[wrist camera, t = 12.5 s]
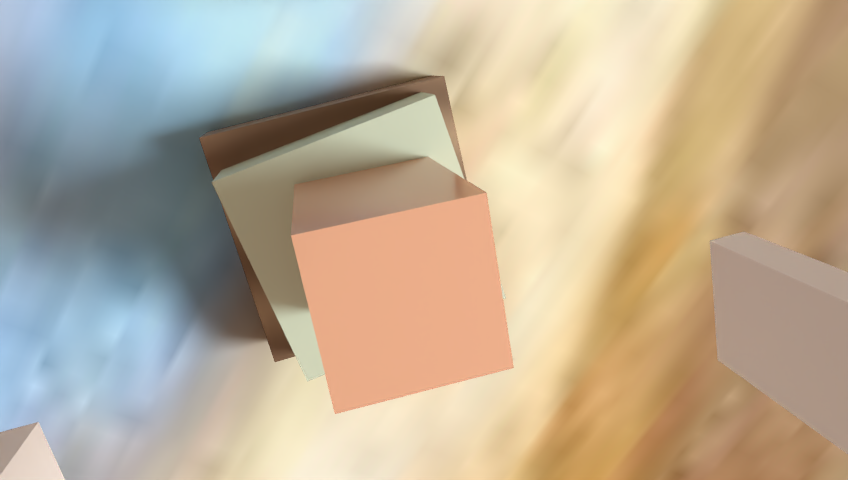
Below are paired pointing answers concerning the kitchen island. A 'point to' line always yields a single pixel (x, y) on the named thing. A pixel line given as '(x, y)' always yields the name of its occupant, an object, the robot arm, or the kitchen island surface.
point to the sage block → (311, 160)
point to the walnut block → (295, 125)
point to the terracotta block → (399, 280)
